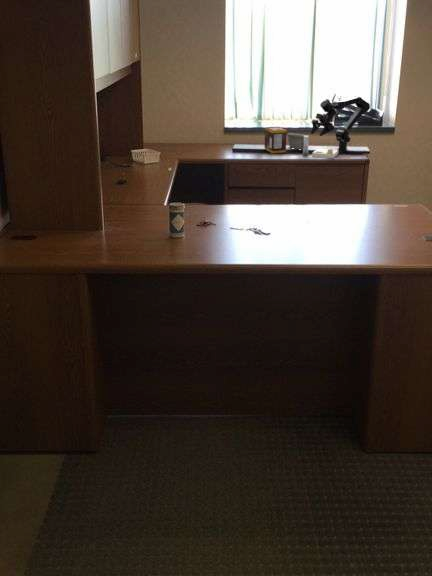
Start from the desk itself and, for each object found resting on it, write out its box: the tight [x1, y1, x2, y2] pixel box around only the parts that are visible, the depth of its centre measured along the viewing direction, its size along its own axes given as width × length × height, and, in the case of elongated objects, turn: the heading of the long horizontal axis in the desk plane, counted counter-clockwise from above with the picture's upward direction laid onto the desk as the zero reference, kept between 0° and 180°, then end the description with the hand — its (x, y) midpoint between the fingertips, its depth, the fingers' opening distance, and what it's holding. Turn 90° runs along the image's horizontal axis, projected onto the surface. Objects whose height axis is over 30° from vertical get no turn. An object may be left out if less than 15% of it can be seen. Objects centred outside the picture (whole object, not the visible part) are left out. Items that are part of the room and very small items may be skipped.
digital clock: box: [287, 132, 307, 150], centre depth 450 cm, size 16×9×11 cm, turn 39°
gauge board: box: [311, 148, 339, 159], centre depth 431 cm, size 16×14×5 cm
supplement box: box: [264, 126, 288, 154], centre depth 442 cm, size 10×15×16 cm
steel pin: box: [302, 135, 310, 157], centre depth 429 cm, size 4×4×13 cm
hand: (315, 134), depth 430 cm, fingers open, 9 cm apart
